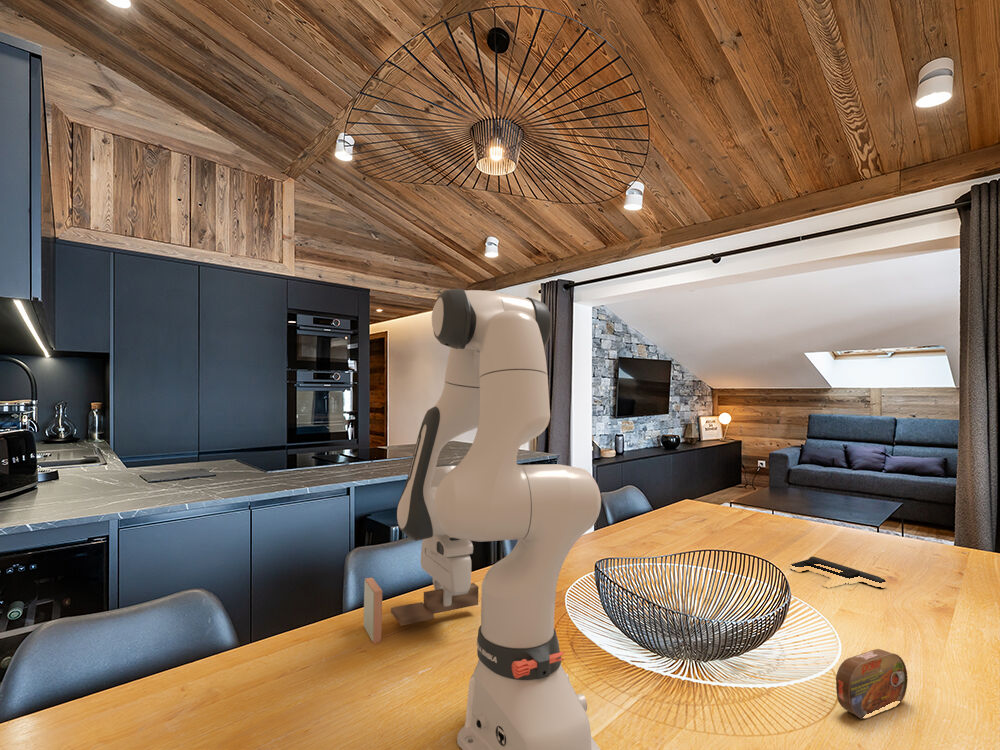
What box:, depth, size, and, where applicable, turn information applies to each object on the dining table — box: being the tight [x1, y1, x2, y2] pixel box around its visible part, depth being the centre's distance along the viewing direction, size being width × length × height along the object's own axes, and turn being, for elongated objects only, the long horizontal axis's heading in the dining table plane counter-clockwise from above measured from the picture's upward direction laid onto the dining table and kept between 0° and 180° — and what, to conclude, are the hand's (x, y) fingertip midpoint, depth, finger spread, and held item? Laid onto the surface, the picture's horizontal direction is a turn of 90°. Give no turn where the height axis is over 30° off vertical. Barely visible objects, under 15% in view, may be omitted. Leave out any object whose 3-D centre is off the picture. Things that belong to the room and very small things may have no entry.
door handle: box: [790, 556, 887, 583], centre depth 140 cm, size 3×20×16 cm
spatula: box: [390, 582, 479, 626], centre depth 110 cm, size 18×7×4 cm, turn 119°
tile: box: [363, 577, 383, 644], centre depth 104 cm, size 8×2×10 cm, turn 28°
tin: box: [835, 648, 908, 720], centre depth 82 cm, size 15×3×8 cm, turn 114°
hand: (442, 601), depth 111 cm, fingers closed on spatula, 2 cm apart
